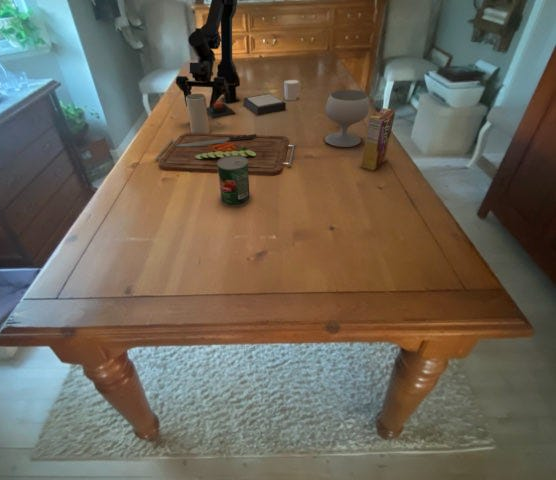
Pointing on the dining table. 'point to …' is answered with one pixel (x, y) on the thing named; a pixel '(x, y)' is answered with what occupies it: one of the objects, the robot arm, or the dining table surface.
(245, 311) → the dining table surface
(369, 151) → the candy box
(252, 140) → the chopping board
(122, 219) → the dining table surface
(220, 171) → the canned tomato
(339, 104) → the chalice
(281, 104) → the scale
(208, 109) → the tare pad
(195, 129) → the beaker
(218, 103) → the scale button
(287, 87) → the shot glass
